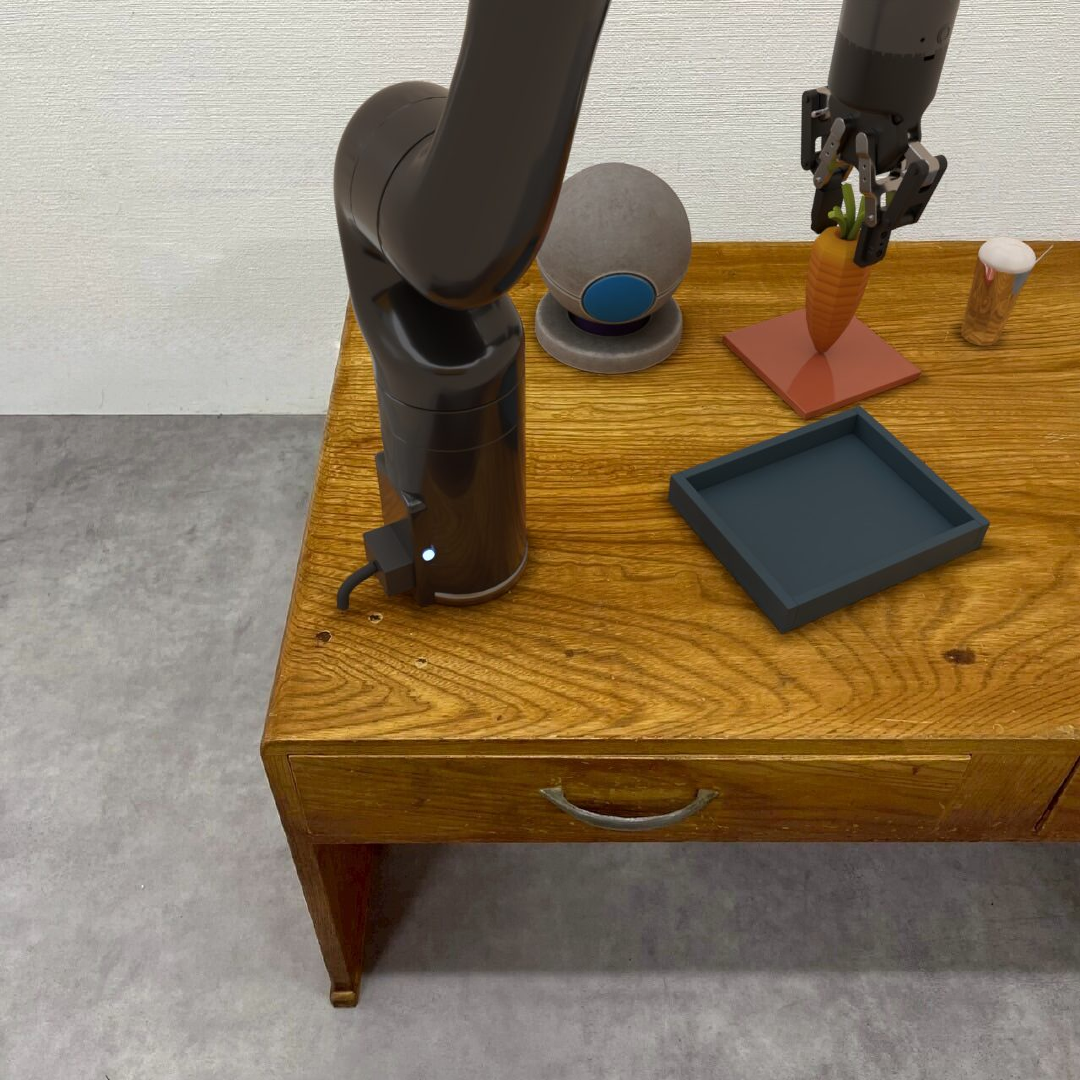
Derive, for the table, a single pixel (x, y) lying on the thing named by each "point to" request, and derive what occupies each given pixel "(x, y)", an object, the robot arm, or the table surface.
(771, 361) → the tile
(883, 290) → the table surface
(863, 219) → the carrot
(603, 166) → the webcam
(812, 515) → the tray
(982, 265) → the milkshake
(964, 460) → the table surface
